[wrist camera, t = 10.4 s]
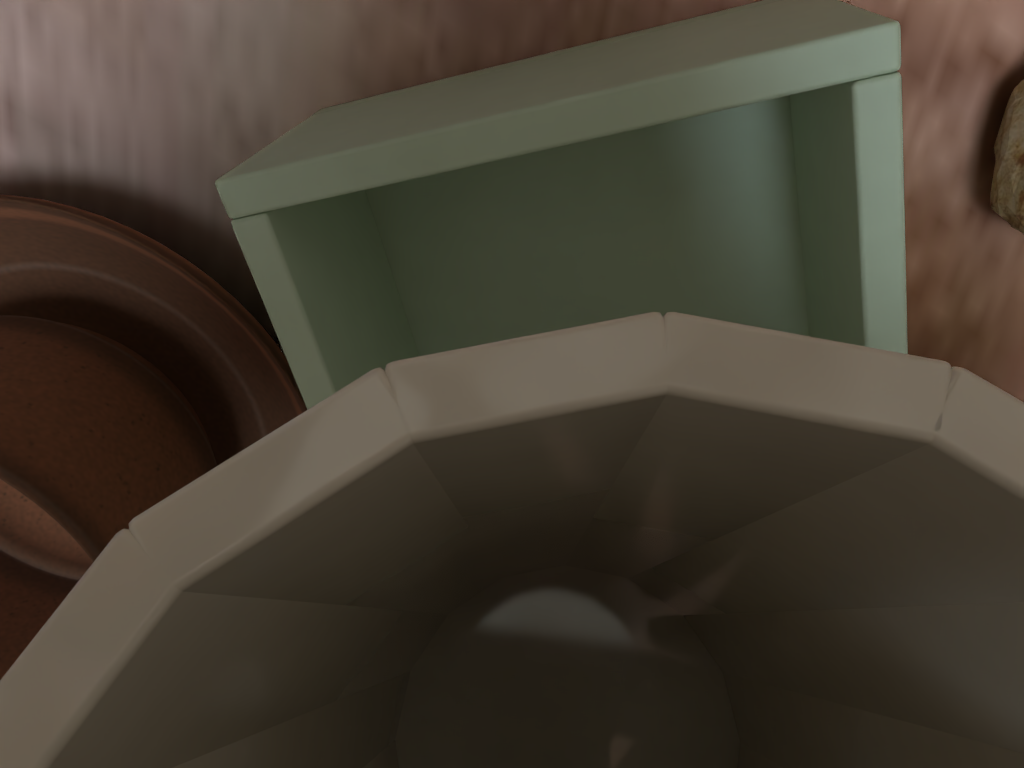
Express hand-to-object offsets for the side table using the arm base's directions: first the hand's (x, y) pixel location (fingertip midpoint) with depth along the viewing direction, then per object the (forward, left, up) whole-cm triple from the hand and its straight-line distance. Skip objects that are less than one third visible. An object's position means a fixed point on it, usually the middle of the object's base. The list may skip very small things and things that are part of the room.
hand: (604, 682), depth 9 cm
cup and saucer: (-1, +12, -10) cm, 16 cm away
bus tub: (-1, 0, -10) cm, 10 cm away
